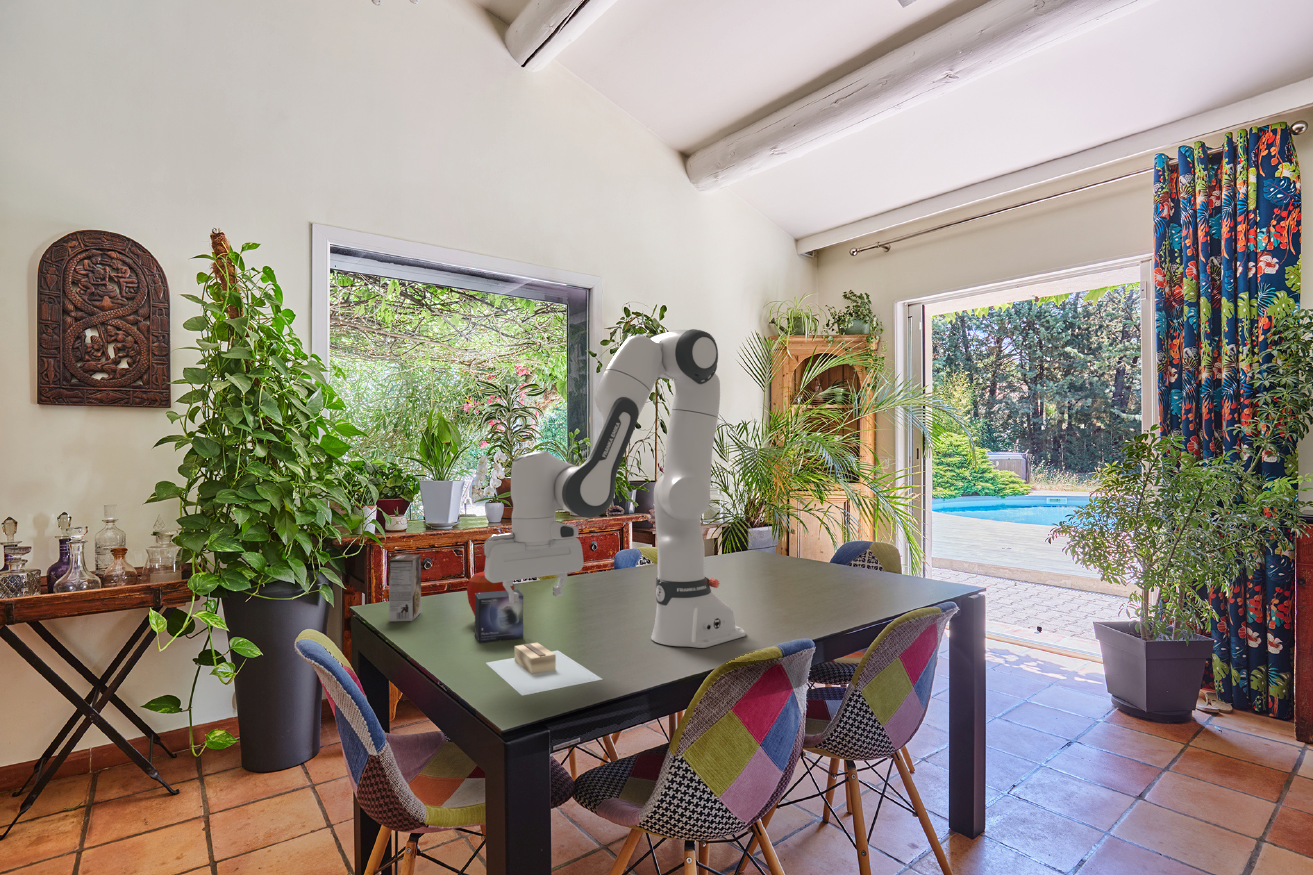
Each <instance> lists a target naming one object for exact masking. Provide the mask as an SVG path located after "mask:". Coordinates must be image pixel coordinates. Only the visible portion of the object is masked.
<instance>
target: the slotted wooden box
mask: <svg viewBox="0 0 1313 875" xmlns="http://www.w3.org/2000/svg"><path fill="white" fill-rule="evenodd" d="M514 658H515V661H516V662H517V663H518V664H519V665H521V666H522V667H523V668H524V669H526V670H527V671H528V672H530V673H531V674H535V673H541V672H546V671H552V670H556V655H555V654H554V653H552V652H551V650H550V649H549V648H546V647H545V646H543V645H542V644H540V643H539V642H532V643H524V644H519V645H514Z"/></svg>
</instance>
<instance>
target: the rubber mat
mask: <svg viewBox="0 0 1313 875" xmlns="http://www.w3.org/2000/svg"><path fill="white" fill-rule="evenodd" d="M550 651H551V650H550ZM551 652H552V653H554V654H555V655H556V670H552V671H546V672H541V673H535V674H531V673H530V672H528V671H527V670H526V669H524V668H523V667H522V666H521V665H519V664H518V663H517V662H516V661H515V657H512V658H504V659H499V660H494V661H488V662H485V664H486V665H487V666H488V667H489V668H490V669H492V670H493V671H494V672H495V673H496V675H497V676H499V677H500V678H501V679H502V680H503V681H505V682H506V683H507V684H508V685H509V686H511V687H512V688H513V690H514V691H516V692H517V693H518V694H519V695H520V696H528V695H534V694H538V693H544V692H548V691H552V690H558V689H563V688H569V687H573V686H578V685H582V684H583V685H584V684H587V683H592V682H598V681H603V680H604V679H603V678H601V677H600V676H599V675H597V674H596V673H594V672H593V671H591V670H589V669H587V668H586V667H585V666H583V665H581V664H580V663H578V662H577V661H575V660H574V659H572V658H570V657H569V656H567V655H566V654H564V653H563V652H561V651H559V650H553V651H551Z"/></svg>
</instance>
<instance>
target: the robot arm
mask: <svg viewBox="0 0 1313 875" xmlns="http://www.w3.org/2000/svg"><path fill="white" fill-rule="evenodd" d="M718 361H719V350H718V345H717V343H716V339H715V338H714V337H713V335H712V334H710V333H709V332H707V331H705V330H701V329H695V328H693V329H674V330H670V331H667V332H662V333H654V334H652V335H650V336H645V335H637V334H636V335H632V336H630V337H628V338H626V339H625V340H624V341H623V343H622V344H621V346H620V347H619V348H618V349H617V351H616V352H615V353H614V354H613V357H612V358H611V359H610V362H609V363H608V365H607V367H606V369H604V370H605V371H604V372H603V375H602V376H601V378H600V381H599V383H598V386H597V389H596V390H595V391H596V393H595V395H594V396H595V397H594V402H595V404H596V407H597V409H598V411H599V412H600V413H601V414H600V415H602V424H601V427H600V429H599V433H598V435H597V437H596V439H595V441H594V444H593V446H592V449H591V450H590V453H589V455H588V457H587V459H586V460H585V461H584V462H583V463H582V464H581V465H575V464H573V463H569V462H566V461H565V460H562V459H560V458H559V457H556V456H554V455H553V454H552V453H550V451H547V450H538V451H532V452H531V451H530V452H527V453H524V454H521V455H519V456H517V457H515V459H514V460H513V462H512V465H511V473H510V498H511V502H512V507H513V508H512V512H511V532H509V533H503V534H492V535H490V537H488V538H486V539H485V542H484V544H483V554H484V555H485V561H484V571H485V578H486V579H487V580H488V581H490V582H492V583H497V582H503V586H504V588H505V589H506V591H507V592H508V593H509V602H510V603H515V602H519V599H518V597H519V594H518V593H516V592H513V590H512V589H511V587H510V586H513V584H514V581H517V580H519V581H520V580H525V579H533V578H541V577H548V576H553V575H557V576H556V577H557V578H558V581H557V584H556V585H555V586H552V596H555V597H560V596H563V594H564V593H563V592H564V590H563V588H564V587H565V584H566V582H567V580H568V574H569V573H576V572H581V571H582V568H583V567H584V554H583V546H582V543H581V541H580V539H579V538H577V537H578V536H579V528H578V527H577V526H576V525H575V526H574V525H572V524H567V523H565V522H561V521H556V513H557V511H558V510H564V511H566V512H570V513H573V514H575V515H577V516H578V517H581V518H586V519H588V518H589V519H590V518H591V519H592V518H596V517H598V516H601V515H602V514H604V513H605V512H606V511H607V510H608V509H609V507H610V506H611V505H612V503H613V501H614V499H615V498H614V497H615V494H616V480H617V474H618V471H619V468H620V465H621V463H622V460H623V459H624V456H625V453H626V451H627V448H628V446H629V444H630V441H631V438H632V436H633V434H634V431H635V428H636V425H637V423H638V419H639V417H640V414H641V412H643V411H642V410H643V408H644V407H645V405H646V403H647V401H648V399H649V396H650V395H651V392H652V391H653V389H654V386H655V383H656V381H657V380H658V379H668V380H672V381H673V382H674V386H675V387H674V389H675V394H674V398H673V403H672V408H671V413H670V418H669V419H670V420H669V424H668V430H667V436H666V442H665V448H666V449H665V460H664V469H663V470H664V472H663V474H662V475H661V476H660V477H659V478H658V479H657V481H656V482H655V485H654V489H653V507H654V509H653V510H654V522H655V531H656V532H655V533H656V542H657V543H656V544H657V550H656V551H657V577H655V598H656V611H655V620H654V625H653V630H652V633H651V636H650V638H651V640H652V641H653V642H655V643H658V644H661V645H666V646H673V647H689V648H690V647H691V648H697V649H698V648H700V649H705V648H709V647H712V646H715V645H720V644H722V643H726V642H729V641H733V640H736V639H739V638H743V637H746V631H745V629H744V628H742V627H740V626H738V625H736V620H735V619H736V618H735V614H734V611H733V609H732V608H731V607H730V605H728V604H726V603H725V602H724V601H723V600H722V599H720V598H719V597H718V596H716V595H715V594H714V593H712V590H711V589H712V588H714V589H717V588H719V586H720V580H719V579H717V578H716V579H715V578H713V577H712V578H710V579H709V578H708V577H706V576H705V575H706V574H705V566H706V565H705V563H706V562H705V556H706V555H705V540H704V537H703V536H704V535H703V530H702V524H701V516H702V515H704V514H705V513H706V511H707V510H708V507H709V506H710V502H711V482H712V463H713V460H712V459H713V449H714V442H715V436H716V429H717V424H718V418H719V413H720V412H719V410H720V403H721V402H720V401H721V398H720V397H721V382H720V378H719V376H718V375H717V373H716V371H717V368H718Z"/></svg>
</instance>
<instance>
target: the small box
mask: <svg viewBox="0 0 1313 875" xmlns="http://www.w3.org/2000/svg"><path fill="white" fill-rule="evenodd" d="M513 592H516V593H518V594H519V597H518V599H519V602H515V603H510V602H509V593H508V592H507V591H496V592H483V593H475V615H474V634H473V636H474V637H475V639H476V641H477V643H479V644H481V643H482V642H483V643H490V642H491V643H492V642H499V640H501V641H508V640H510V641H511V640H519V639H518V638H520V639H524V594H523V592H521V591H520V590H519V589H514V590H513Z"/></svg>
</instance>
